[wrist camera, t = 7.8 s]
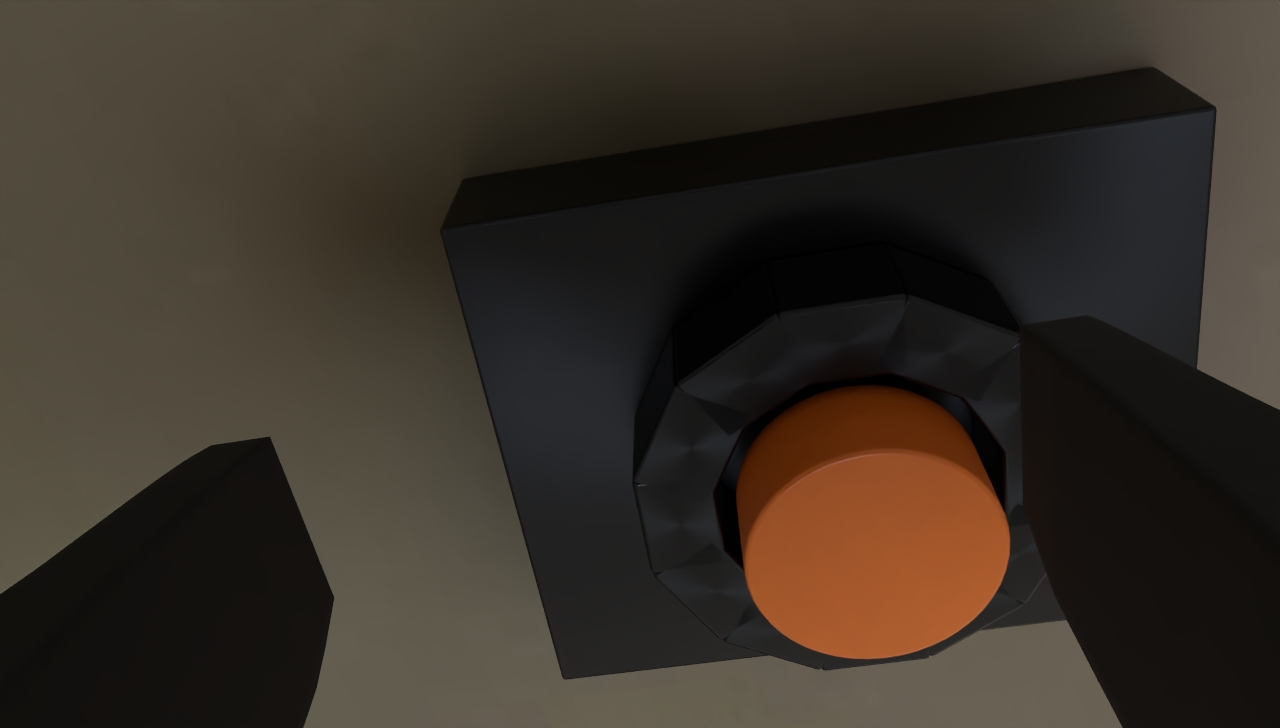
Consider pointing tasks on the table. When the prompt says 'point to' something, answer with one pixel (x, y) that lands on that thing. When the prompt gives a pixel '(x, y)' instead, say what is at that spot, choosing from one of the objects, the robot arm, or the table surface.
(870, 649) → the button
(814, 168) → the button box
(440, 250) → the table surface
